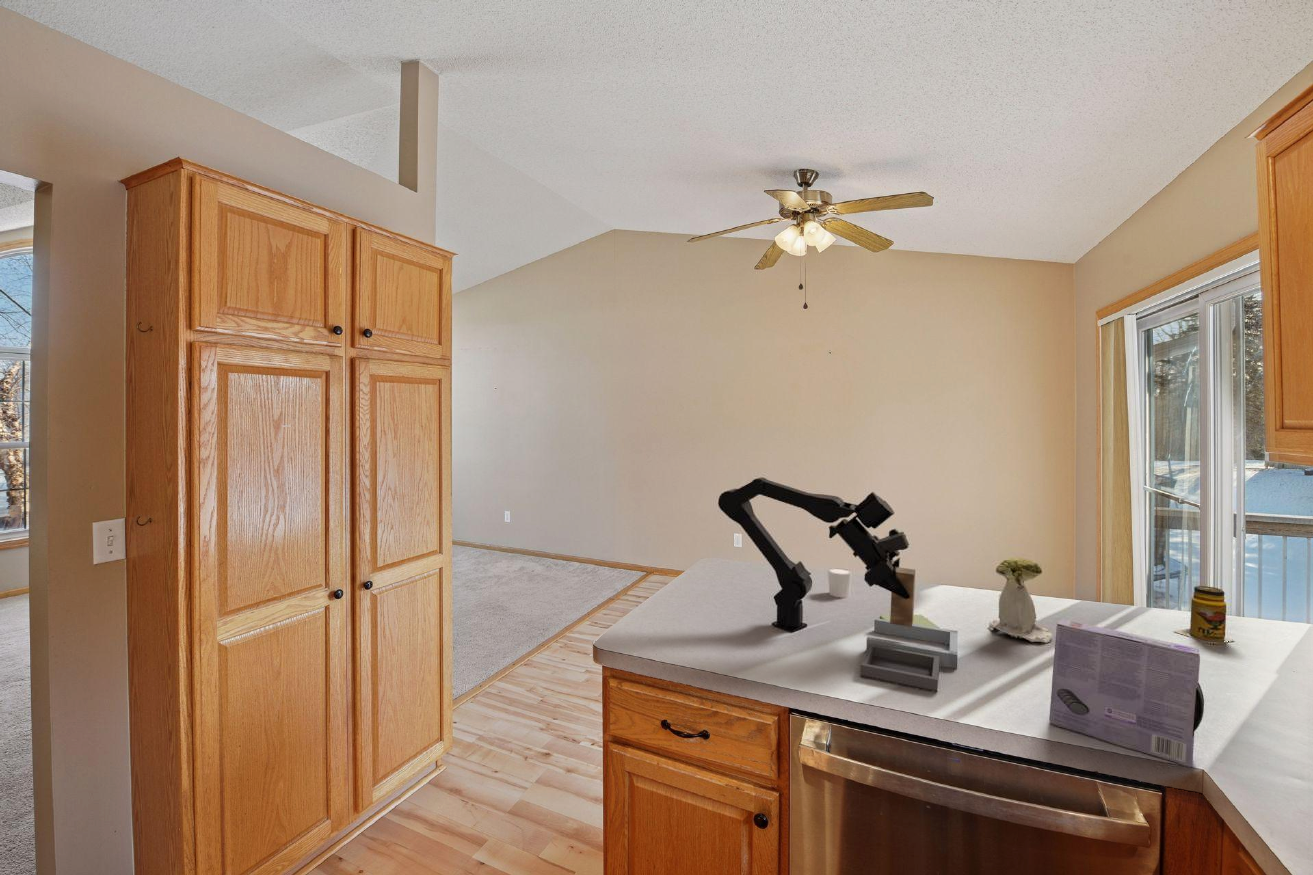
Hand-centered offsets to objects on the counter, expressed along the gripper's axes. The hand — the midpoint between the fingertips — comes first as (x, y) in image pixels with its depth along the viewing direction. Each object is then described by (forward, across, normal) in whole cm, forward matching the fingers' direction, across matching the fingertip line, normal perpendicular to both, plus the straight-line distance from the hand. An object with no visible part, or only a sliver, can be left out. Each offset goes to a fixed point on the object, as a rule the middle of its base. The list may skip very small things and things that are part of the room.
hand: (909, 594), depth 131 cm
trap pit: (+8, -15, +9) cm, 19 cm away
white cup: (-6, +32, +24) cm, 40 cm away
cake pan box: (+32, -25, -16) cm, 44 cm away
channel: (+9, 0, +8) cm, 12 cm away
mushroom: (+25, +22, -8) cm, 34 cm away
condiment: (+52, +41, -36) cm, 75 cm away
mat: (+8, +16, +9) cm, 20 cm away
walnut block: (+4, 0, +6) cm, 7 cm away
